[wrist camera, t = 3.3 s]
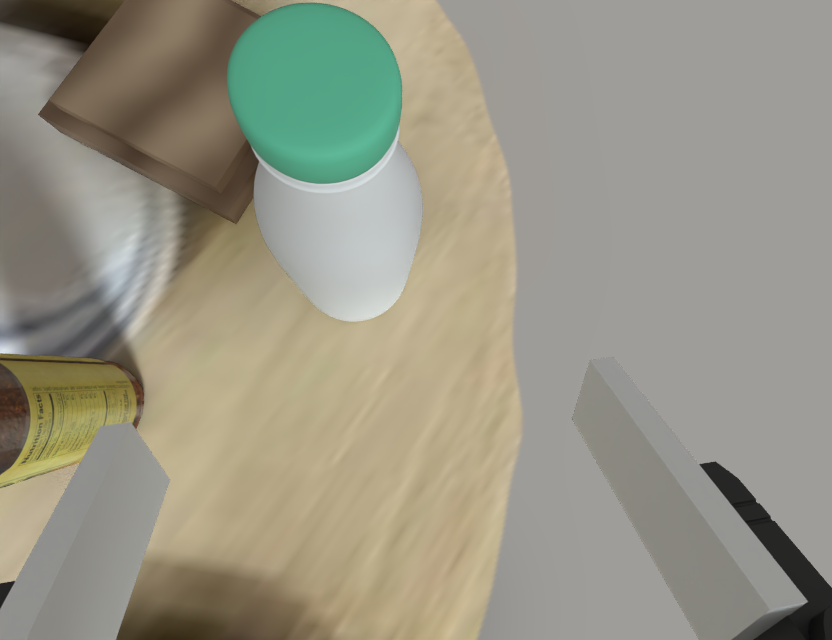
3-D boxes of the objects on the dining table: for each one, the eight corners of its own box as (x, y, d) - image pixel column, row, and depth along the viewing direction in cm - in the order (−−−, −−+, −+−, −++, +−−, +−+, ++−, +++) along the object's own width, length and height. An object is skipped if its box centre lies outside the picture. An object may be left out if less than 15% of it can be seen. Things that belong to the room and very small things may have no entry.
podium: (60, 132, 30) (25, 104, 27) (168, -15, 32) (147, -55, 29) (236, 224, 30) (220, 207, 27) (331, 72, 32) (326, 41, 29)
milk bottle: (414, 315, 30) (485, 199, 11) (306, 330, 30) (167, 234, 10) (399, 214, 31) (437, -64, 12) (294, 225, 30) (143, -54, 11)
